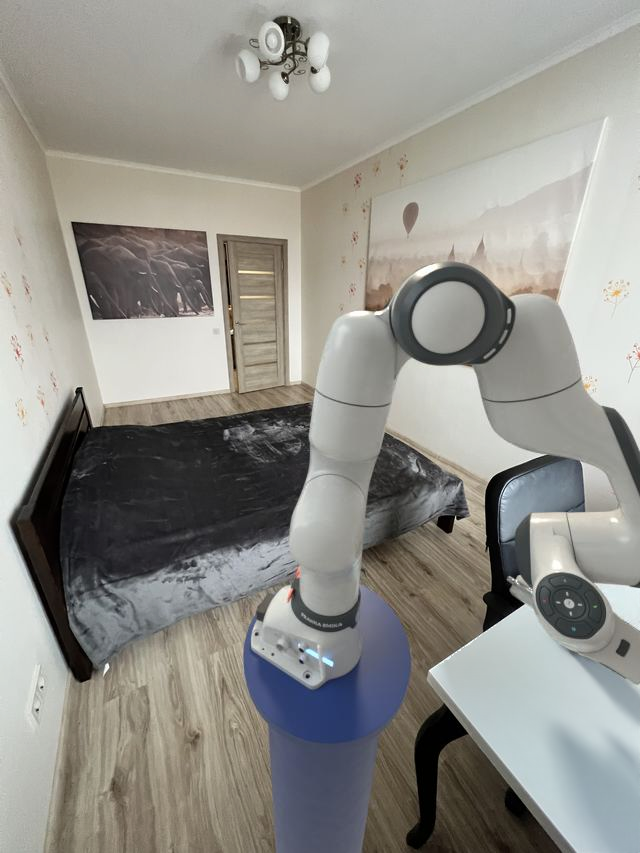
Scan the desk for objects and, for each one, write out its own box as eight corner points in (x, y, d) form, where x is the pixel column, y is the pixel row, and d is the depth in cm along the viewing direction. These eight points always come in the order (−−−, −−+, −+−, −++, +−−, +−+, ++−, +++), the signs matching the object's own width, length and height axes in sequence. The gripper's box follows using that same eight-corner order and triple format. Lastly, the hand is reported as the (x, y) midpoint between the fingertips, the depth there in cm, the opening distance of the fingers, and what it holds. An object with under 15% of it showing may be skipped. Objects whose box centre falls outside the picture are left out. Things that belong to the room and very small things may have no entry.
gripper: (496, 591, 58) (509, 602, 68) (653, 696, 44) (643, 692, 53) (514, 559, 59) (525, 575, 69) (674, 652, 44) (660, 656, 54)
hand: (577, 627), depth 61 cm, fingers closed
